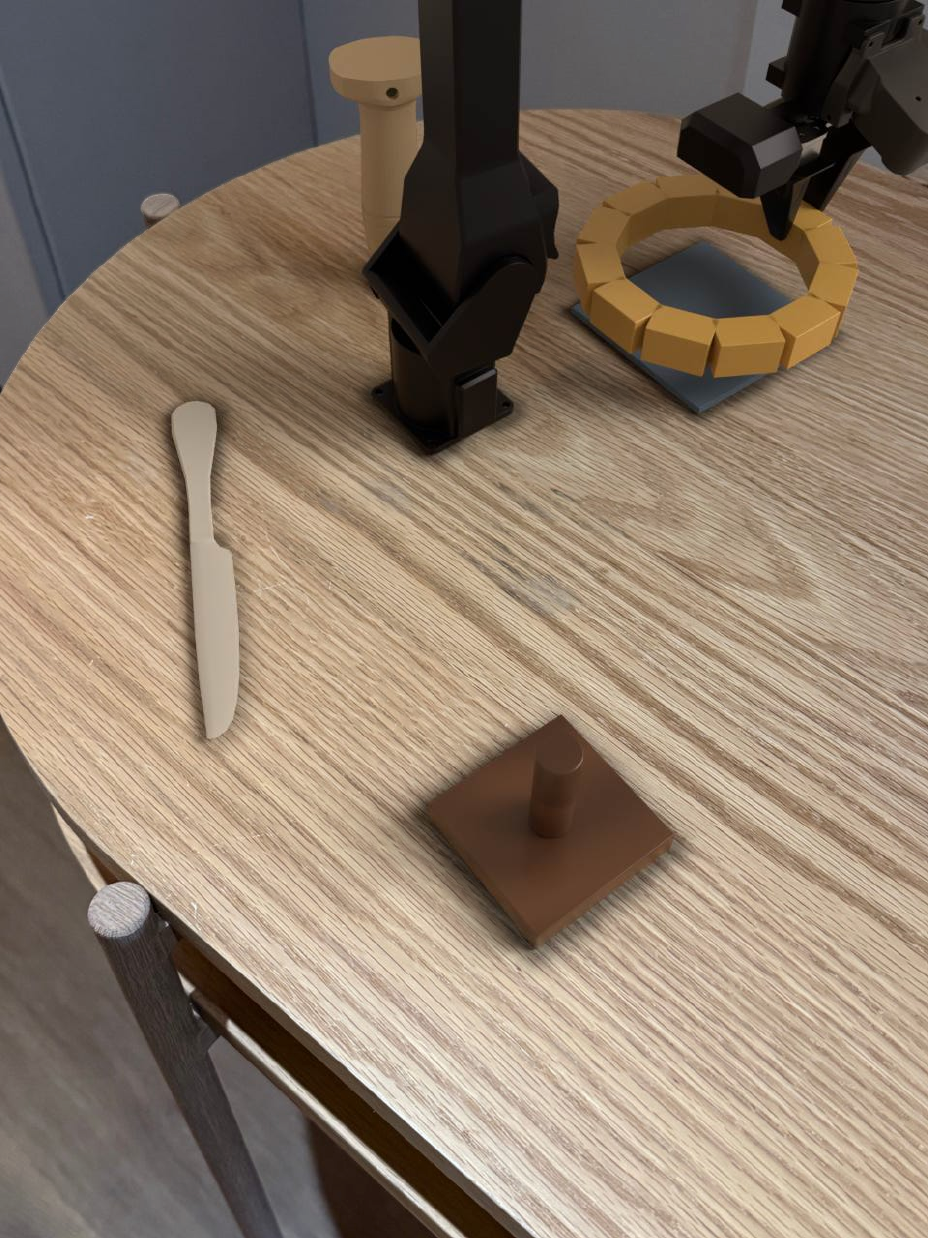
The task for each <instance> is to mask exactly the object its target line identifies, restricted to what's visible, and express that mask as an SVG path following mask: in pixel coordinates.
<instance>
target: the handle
mask: <svg viewBox="0 0 928 1238" xmlns="http://www.w3.org/2000/svg"><path fill="white" fill-rule="evenodd" d="M328 66H329V67H328V68H329V76H330V82H331V86H332V88H333V89H334V90H335V92H336V93H337V94H339V95H340V96H341V97H342V98H345V99H347V100H349V101H352V102H356V103H357V106H358V112H359V131H360V132H359V133H360V201H361V203H360V204H361V214H362V215H361V216H362V217H361V218H362V224H363V231H364V238H365V242H366V247H367V251H368V254H369V257H370V258H371V257H372V255H373V254H374V253H375V251H376V250H377V249H378V247H379V246H380V245H381V244H382V242H383V241H384V240H385V238H386V237H387V236H388V234H389V233H390V232H391V230H392V229H393V228H394V226H395V225H396V224H397V222H398V221H399V220H400V216H401V206H402V197H403V187H404V179H405V175H406V173H407V171H408V169H409V168H410V166H411V164H412V162H413V160H414V158H415V157H416V155H417V153H418V151H419V149H420V147H419V136H418V124H417V99H418V98H420V97H422V80H421V60H420V39H419V37H412V36H403V35H386V36H376V37H367V38H366V37H365V38H361V39H358V40H357V39H356V40H354V41H351V42H348V43H345V44H343V45H340V46H337V47H334V49H332V51H330V53H329V56H328Z"/></svg>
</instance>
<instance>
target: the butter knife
mask: <svg viewBox="0 0 928 1238" xmlns="http://www.w3.org/2000/svg"><path fill="white" fill-rule="evenodd" d="M217 431H218V424H217V414H216V409H215V408H214V407H213V406H212V405H211V404H210V403H208V402H204V401H200V400H192V401H187V402H185V403H182V404H180V405H178V406H177V407H176V408H175V409H174V410H173V412H172V413H171V435H172V439H173V443H174V447H175V450H176V453H177V457H178V460H179V465H180V467H181V472H182V474H183V477H184V481H185V489H186V498H187V505H188V506H187V508H188V532H189V533H188V534H189V535H188V536H189V552H190V569H191V570H190V571H191V585H192V604H193V622H194V623H193V624H194V637H195V646H196V659H197V660H196V661H197V669H198V679H199V688H200V689H199V690H200V695H201V705H202V712H203V721H204V728H205V733H206V734H205V735H206V739H207V740H209V739H217V738H218V737H220V736H222V735H223V734H224V733H226V732H227V731H228V729H229V727H230V725H231V723H232V721H233V719H234V716H235V711H236V707H237V703H238V695H239V683H240V632H239V631H240V630H239V620H238V619H239V616H238V604H237V592H236V591H237V590H236V583H235V572H234V563H233V562H234V561H233V553H232V552H231V551H230V550H229V549H227V548H225V547H222V546H220V545H219V544H218V542H217V541H216V539H215V538H214V526H213V516H212V503H211V502H212V500H211V498H212V497H211V496H212V495H211V475H212V467H213V461H214V453H215V447H216V440H217V439H216V438H217Z"/></svg>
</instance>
